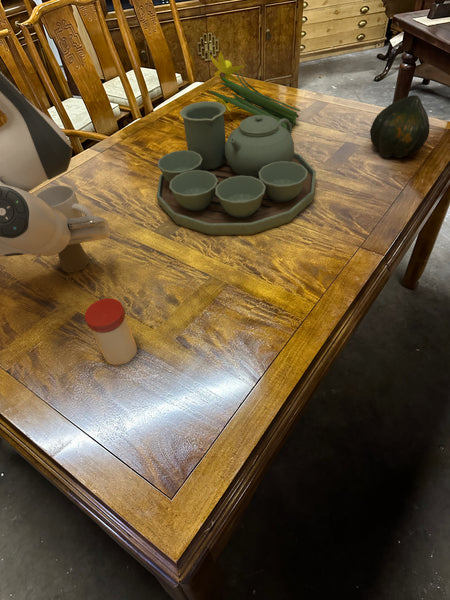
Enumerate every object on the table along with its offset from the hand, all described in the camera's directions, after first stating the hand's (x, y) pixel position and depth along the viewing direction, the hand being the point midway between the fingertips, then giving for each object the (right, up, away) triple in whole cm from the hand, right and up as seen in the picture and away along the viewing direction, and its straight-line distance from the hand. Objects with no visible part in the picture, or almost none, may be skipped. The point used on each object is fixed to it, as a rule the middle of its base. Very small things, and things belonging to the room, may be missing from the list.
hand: (66, 241), depth 87 cm
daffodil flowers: (+42, +46, +49) cm, 80 cm away
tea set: (+36, +15, +20) cm, 44 cm away
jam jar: (+15, -22, -14) cm, 30 cm away
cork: (+1, -5, +4) cm, 6 cm away
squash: (+80, +29, +28) cm, 89 cm away
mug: (-3, +3, +12) cm, 13 cm away
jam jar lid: (+14, -14, -22) cm, 30 cm away
